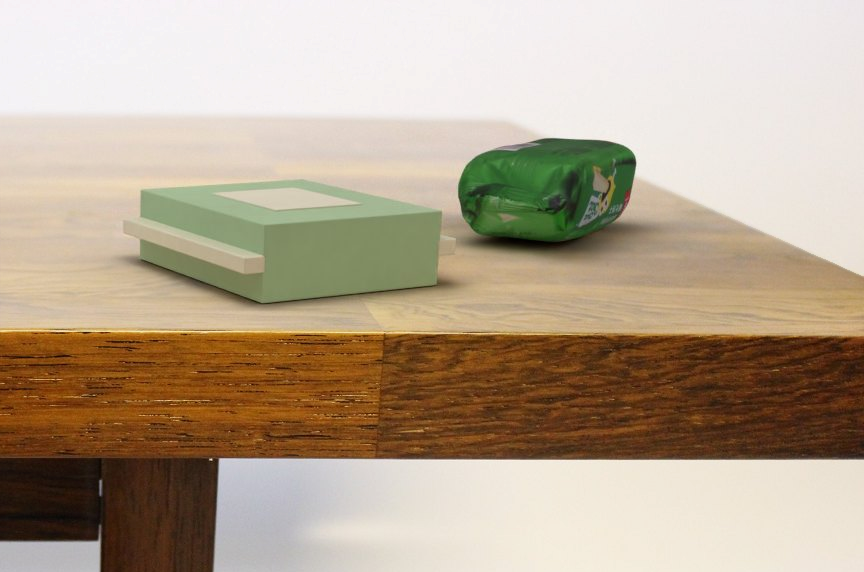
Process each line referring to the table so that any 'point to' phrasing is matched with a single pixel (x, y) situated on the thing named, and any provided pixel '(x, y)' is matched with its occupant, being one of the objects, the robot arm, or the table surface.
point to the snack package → (547, 188)
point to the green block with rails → (289, 239)
